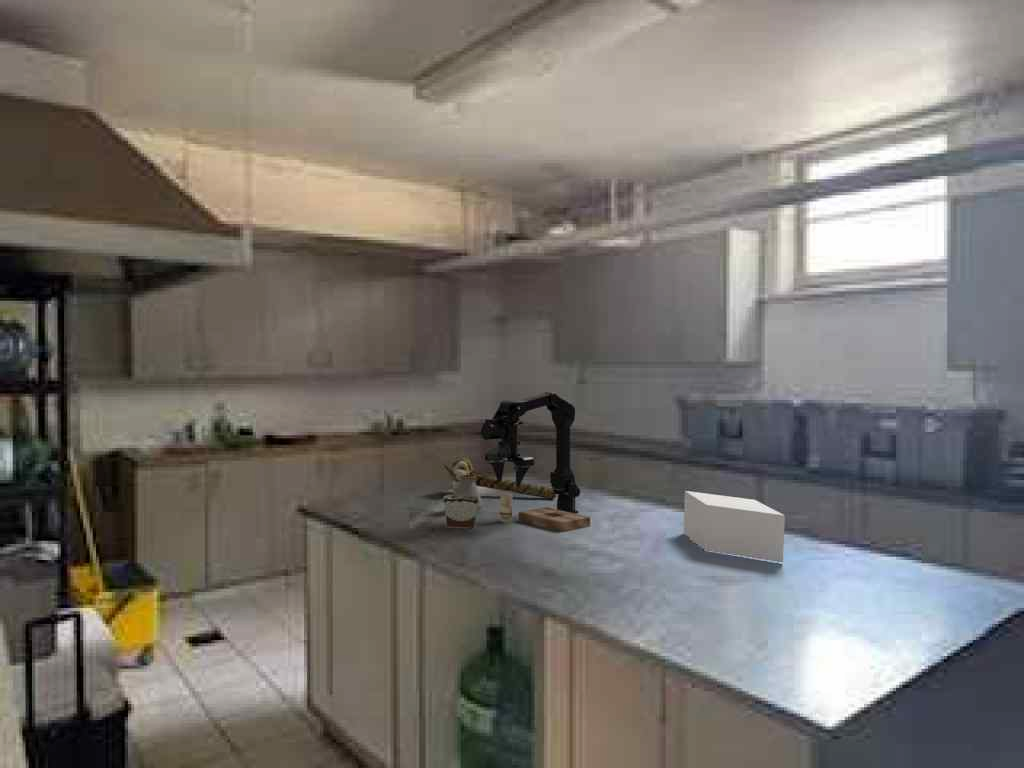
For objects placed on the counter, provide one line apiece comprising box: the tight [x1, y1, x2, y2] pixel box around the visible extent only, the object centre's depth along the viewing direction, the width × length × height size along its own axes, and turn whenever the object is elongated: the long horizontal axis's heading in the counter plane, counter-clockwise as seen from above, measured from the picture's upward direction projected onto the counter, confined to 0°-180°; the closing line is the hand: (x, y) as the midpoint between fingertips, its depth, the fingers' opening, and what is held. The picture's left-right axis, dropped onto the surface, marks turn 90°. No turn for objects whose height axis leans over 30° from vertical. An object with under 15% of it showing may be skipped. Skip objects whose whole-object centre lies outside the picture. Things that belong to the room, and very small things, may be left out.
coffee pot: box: [441, 464, 484, 513], centre depth 274 cm, size 21×12×15 cm, turn 38°
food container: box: [441, 494, 480, 529], centre depth 247 cm, size 12×6×10 cm, turn 84°
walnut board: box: [517, 507, 591, 533], centre depth 254 cm, size 14×20×3 cm
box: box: [683, 490, 786, 563], centre depth 227 cm, size 20×40×14 cm, turn 30°
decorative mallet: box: [448, 457, 557, 501], centre depth 302 cm, size 15×42×16 cm, turn 92°
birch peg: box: [499, 493, 513, 524], centre depth 255 cm, size 4×4×9 cm
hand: (508, 484), depth 254 cm, fingers open, 9 cm apart
